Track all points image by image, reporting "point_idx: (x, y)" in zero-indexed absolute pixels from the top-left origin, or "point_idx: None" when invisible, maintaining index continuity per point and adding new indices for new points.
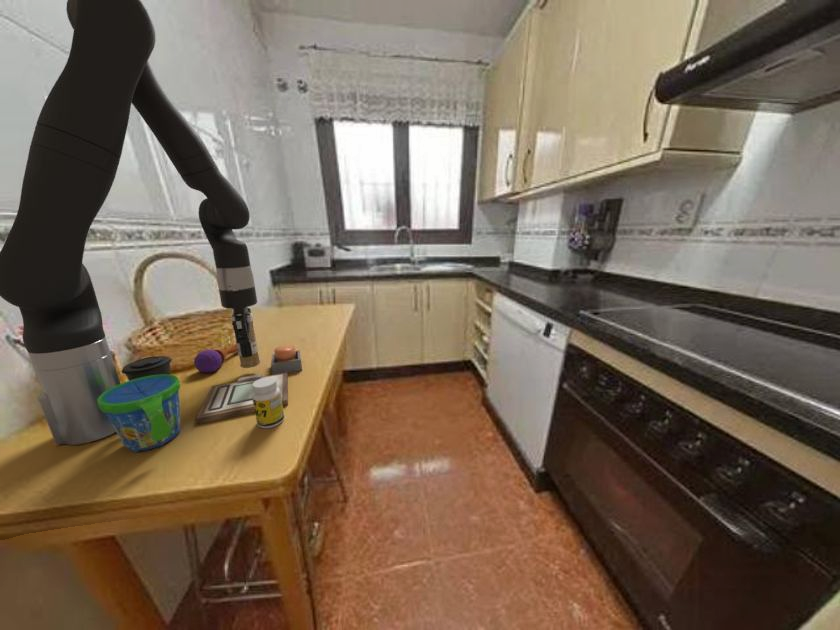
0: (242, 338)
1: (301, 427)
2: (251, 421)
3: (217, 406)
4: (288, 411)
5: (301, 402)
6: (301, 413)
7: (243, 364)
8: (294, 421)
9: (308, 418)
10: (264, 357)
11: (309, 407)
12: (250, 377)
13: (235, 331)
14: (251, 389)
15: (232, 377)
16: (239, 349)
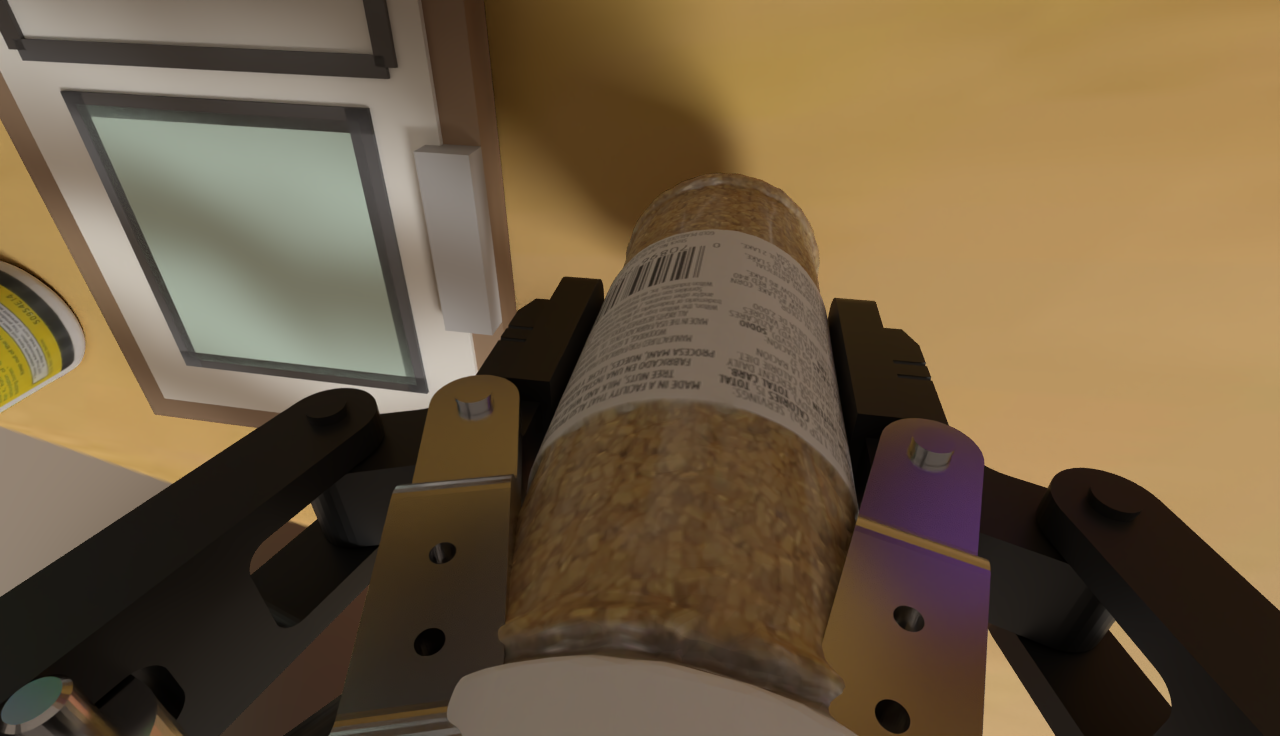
0: (311, 503)
1: (3, 413)
2: (16, 226)
3: (40, 16)
4: (120, 388)
5: (202, 446)
6: (106, 430)
7: (645, 222)
8: (42, 397)
9: (70, 444)
10: (1096, 335)
11: (156, 463)
12: (445, 254)
13: (62, 580)
14: (275, 250)
15: (727, 43)
16: (619, 295)
